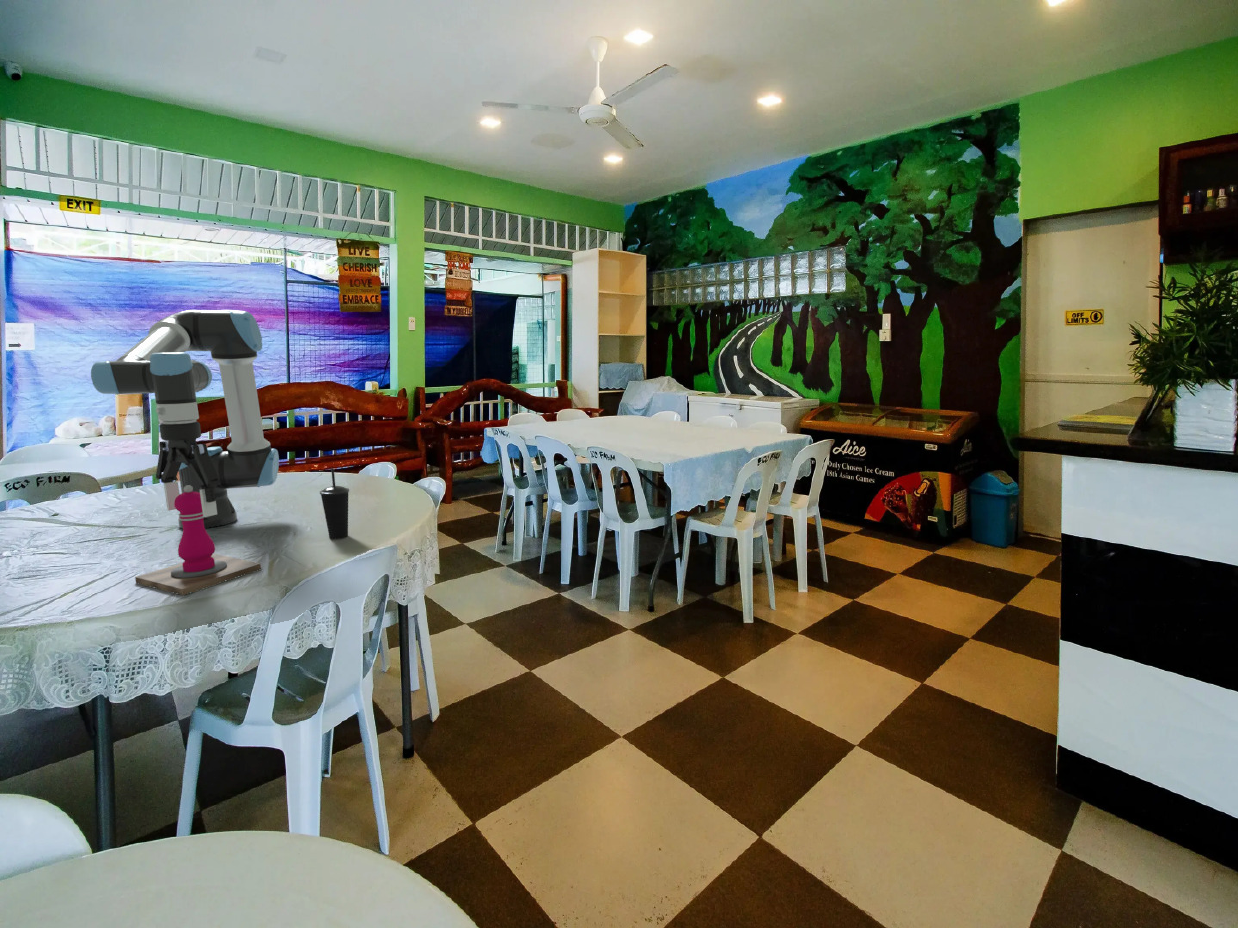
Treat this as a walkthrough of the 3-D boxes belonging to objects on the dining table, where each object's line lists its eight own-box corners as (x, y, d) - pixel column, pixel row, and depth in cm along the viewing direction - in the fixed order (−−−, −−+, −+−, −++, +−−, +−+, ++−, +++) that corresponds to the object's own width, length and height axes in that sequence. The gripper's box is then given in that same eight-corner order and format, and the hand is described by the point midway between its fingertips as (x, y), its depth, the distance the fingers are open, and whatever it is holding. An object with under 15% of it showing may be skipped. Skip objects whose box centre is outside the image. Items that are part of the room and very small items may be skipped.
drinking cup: (334, 542, 171) (328, 472, 167) (318, 538, 175) (311, 469, 171) (358, 535, 177) (353, 467, 173) (342, 531, 181) (336, 465, 177)
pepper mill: (209, 560, 150) (198, 480, 147) (222, 566, 146) (212, 484, 142) (175, 569, 144) (163, 486, 141) (188, 575, 140) (176, 490, 137)
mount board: (135, 583, 141) (134, 574, 141) (215, 559, 157) (214, 551, 157) (183, 595, 134) (182, 586, 133) (261, 569, 150) (260, 561, 149)
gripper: (129, 420, 141) (143, 510, 145) (196, 426, 130) (209, 522, 134) (164, 417, 147) (177, 502, 151) (230, 422, 137) (242, 514, 141)
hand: (192, 512), depth 143 cm, fingers open, 13 cm apart
